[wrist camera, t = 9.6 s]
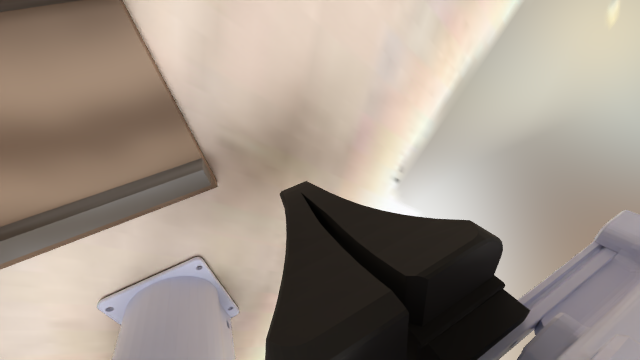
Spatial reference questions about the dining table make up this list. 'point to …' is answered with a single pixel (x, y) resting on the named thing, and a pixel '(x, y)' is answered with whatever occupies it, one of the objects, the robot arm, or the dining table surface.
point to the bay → (84, 126)
